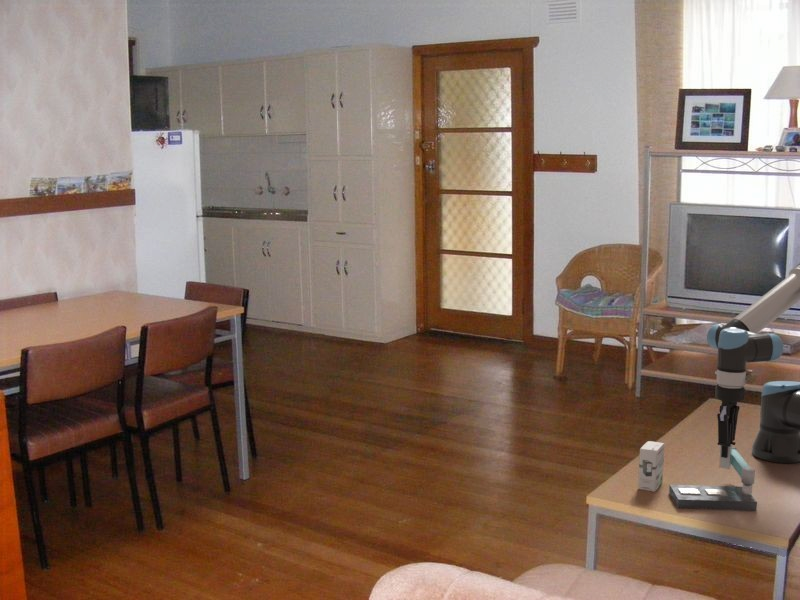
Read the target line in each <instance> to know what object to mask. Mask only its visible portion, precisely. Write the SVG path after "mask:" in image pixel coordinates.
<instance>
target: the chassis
mask: <svg viewBox="0 0 800 600" xmlns="http://www.w3.org/2000/svg"><path fill="white" fill-rule="evenodd" d="M668 489H669V491H668V495H669V496H670V497H671V500H672V501H673V503H674V504H675V506H676V508H677V509H682V510H683V509H685V510H710V511H711V510H714V511H715V510H716V511H739V512H740V511H747V512H749V511H751V512H757V510H758V509H757V507H758V501H757V500H756V499H755V498H754V496H753V484H744V483H742V486H733V485H731V486H729V485H727V486H726V485H698V484H697V485H691V484H669V488H668Z"/></svg>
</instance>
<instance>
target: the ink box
mask: <svg viewBox="0 0 800 600" xmlns="http://www.w3.org/2000/svg"><path fill="white" fill-rule="evenodd" d="M664 459H665V443H664V442H658V441H652V440H648V441H646V442H645V443H644V444H643V445H642V446H641V447H640V449H639V463H638V480H637V481H638V483H637V485H638V486H637V489H638V490H642V491H649V492H656V491H657V490H658V489H659V488H660V486H661V485H663V477H664Z"/></svg>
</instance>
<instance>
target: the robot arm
mask: <svg viewBox="0 0 800 600" xmlns="http://www.w3.org/2000/svg"><path fill="white" fill-rule="evenodd" d="M798 302H800V262H799V263H798V264H797V265H796V266H795V265H794V267H793V268H792V269H790V270H789V273H788V276H787V277H786V278H783V280H782V281H780V282H779V283H778V284H776V285H775V286H774V287H772V288H771V289H770V290H769V291H767V292H766V293H764V294H763V295H762V296H760V297H759V298H758V299H757V300H756V301H754V302H753V303H752V304H750V305H749V306H748V307H746V308H745V309H744V310H743V311H741V312H740V313H739V314H738V315H736V316H735V317H734V318H733V319H731V320H730V321H728V322H727V323H726V324H723V323H721V324H720V323H717V324H714V325H712V326H711V327H710V328H709V329H708V331H707V334H706V341H707V344H708V345H709V347H710V348H712V349H714V350H717V363H716V364H717V365H716V368H717V369H716V370H715V372H714V374H715V375H716V379H715V381H716V383H717V384H716V385H715V392H714V393H715V395H714V396H715V399H717V400H720V401H721V405H720V406H719V412H718V413H717V415H716V418H717V432H718V433H717V435H718V436H717V437H718V439H717V441H718V442H717V445H718V446H720V447H719V448H720V451H719V463H718V464H719V466H718V467H719V469H720V468H721V469H726V470H731V467H732V465H731V453H732V447H733V446H735V445H736V441H735V440H736V434H737V433H736V431H737V426H738V417H739V411H740V405H738V403H739V402H742V401H744V400H745V389H746V388H745V385H746V378H747V377H746V375H747V373H746V372H747V364H749V363H760V362H766V363H767V362H771V361H775V360H776V361H777V360H778V359H779V358H781V357H782V354H783V352H784V343H783V340H782V338H781V337H780V336H779V335H777V334H776V333H761V331H762V330H763V329H765V328H766V327H767V326H769V325H770V324H771V323H773V322H774V321H775V320H777V319H778V318H779V317H780V316H782V315H783V314H784V313H786V311H788V310H790V308H792V307H793V306H795V305H796V304H797V303H798ZM759 412H760V414H759V415H760V419H759V429H758V432H757V434H756V436H755V438H754V441H753V443H752V445H751V447H752V448H751V454H752V455H753V456H754V457H756V458H758V459H761V460H763V461H767V462H772V463H779V464H797V463H800V381H794V380H777V381H776V380H775V381H773V380H772V381H768V382H766V383H764V384H763V386H762V390H761V394H760V411H759Z"/></svg>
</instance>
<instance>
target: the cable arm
mask: <svg viewBox="0 0 800 600" xmlns="http://www.w3.org/2000/svg"><path fill="white" fill-rule="evenodd" d="M731 467H733V469H734V470H735V471H736V473H737V475H738V476H740V478H741V481H740V482H741V483H742V484H743V483H744V484H752V485H754V484H755V476H756V469H754V468H752V467H750V466H749V464H748V463H747V461H746V460H745V459H744V458H743V457H742V455H741V454H740V453H739V452H738V451H737V447H735V446H732V453H731Z"/></svg>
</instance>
